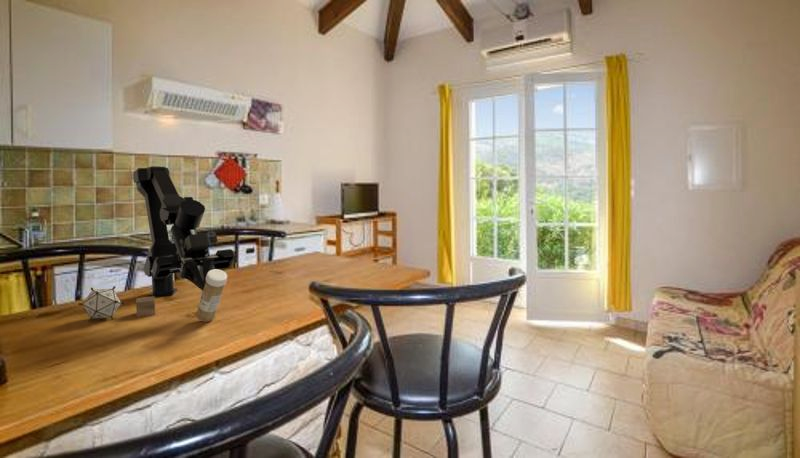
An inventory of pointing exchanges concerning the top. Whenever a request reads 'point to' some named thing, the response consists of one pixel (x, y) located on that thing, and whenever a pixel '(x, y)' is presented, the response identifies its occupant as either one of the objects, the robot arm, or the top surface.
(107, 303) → the game die
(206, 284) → the sprinkles bottle
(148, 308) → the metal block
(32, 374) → the top surface
